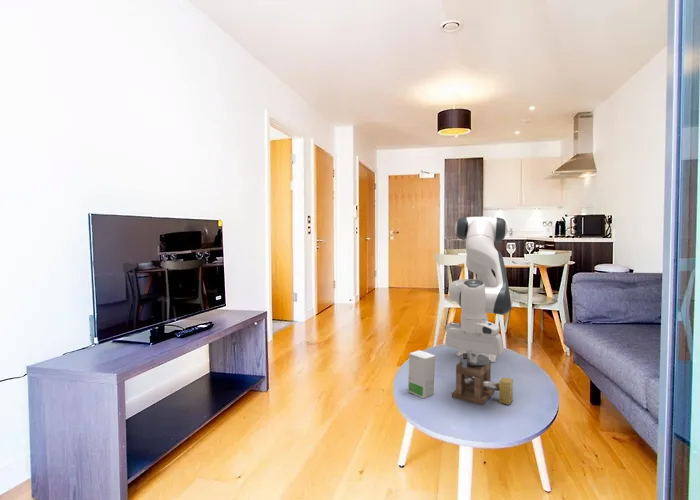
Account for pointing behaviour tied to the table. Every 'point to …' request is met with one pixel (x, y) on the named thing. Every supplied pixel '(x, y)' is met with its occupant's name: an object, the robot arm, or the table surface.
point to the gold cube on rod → (497, 388)
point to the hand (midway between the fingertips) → (472, 362)
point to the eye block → (477, 391)
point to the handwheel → (465, 362)
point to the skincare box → (421, 373)
